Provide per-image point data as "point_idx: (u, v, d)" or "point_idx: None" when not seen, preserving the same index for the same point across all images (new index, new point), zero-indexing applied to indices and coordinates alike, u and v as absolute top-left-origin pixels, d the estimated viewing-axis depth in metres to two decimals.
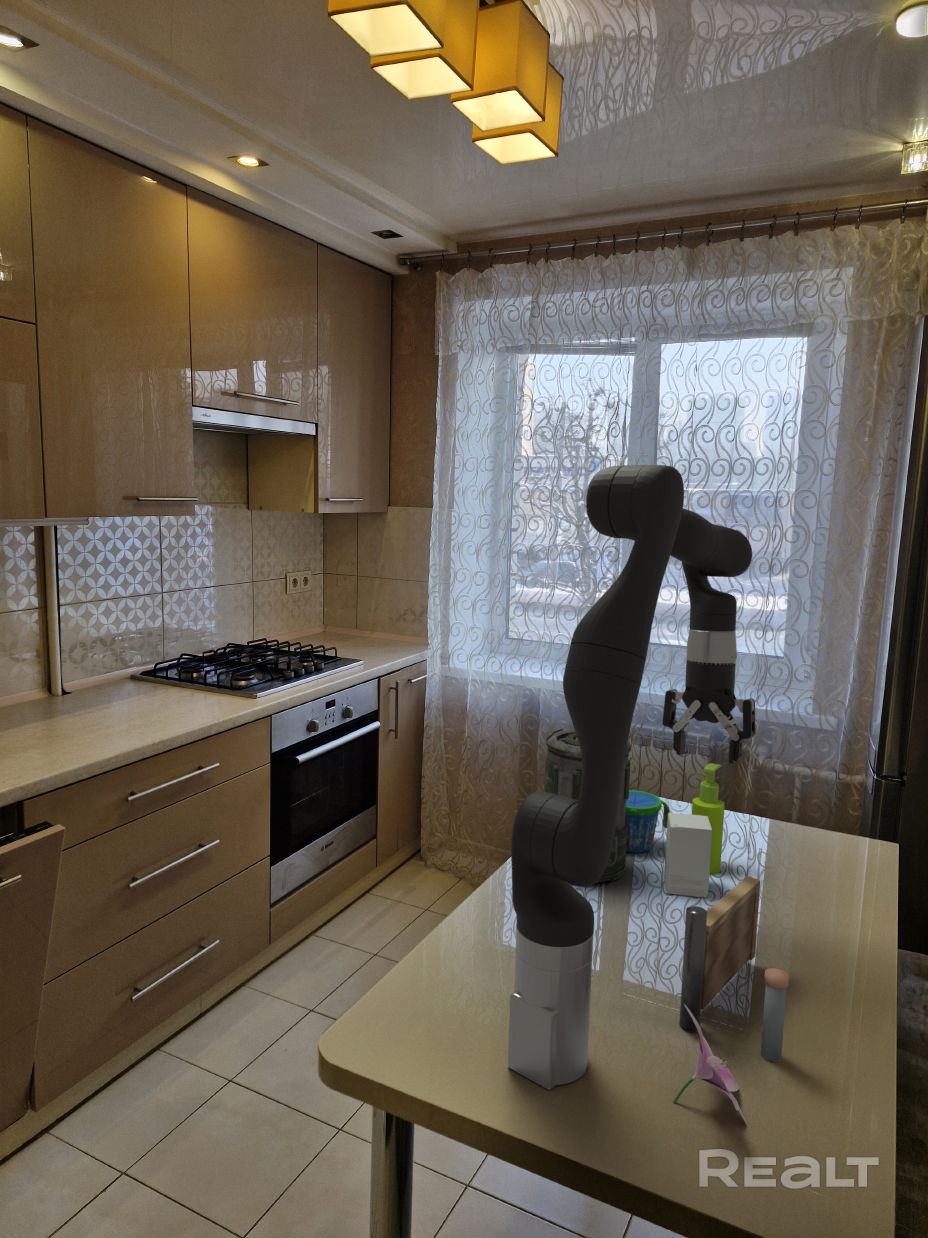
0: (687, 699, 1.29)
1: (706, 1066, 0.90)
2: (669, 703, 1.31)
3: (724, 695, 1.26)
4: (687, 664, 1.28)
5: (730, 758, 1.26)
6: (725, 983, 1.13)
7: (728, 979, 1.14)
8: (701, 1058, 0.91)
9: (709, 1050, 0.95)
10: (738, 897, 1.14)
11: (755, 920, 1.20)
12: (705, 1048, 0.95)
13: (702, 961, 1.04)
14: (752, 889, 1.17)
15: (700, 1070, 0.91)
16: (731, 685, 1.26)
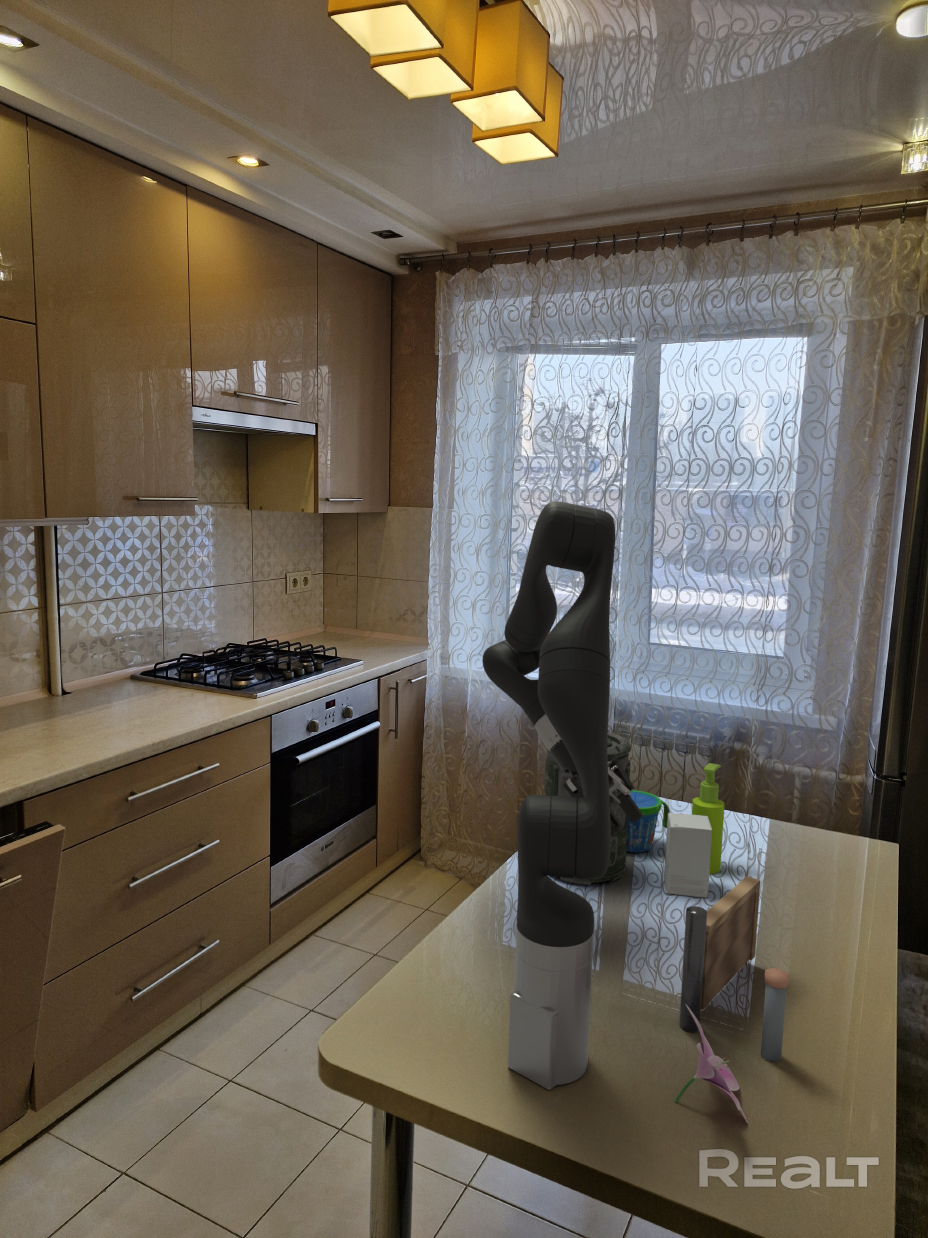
0: None
1: (707, 1066, 0.90)
2: (582, 785, 1.25)
3: None
4: None
5: (638, 811, 1.29)
6: (725, 983, 1.13)
7: (728, 979, 1.14)
8: (702, 1058, 0.91)
9: (710, 1049, 0.96)
10: (738, 897, 1.14)
11: (755, 920, 1.20)
12: (706, 1048, 0.95)
13: (702, 961, 1.04)
14: (752, 889, 1.17)
15: (701, 1070, 0.91)
16: None
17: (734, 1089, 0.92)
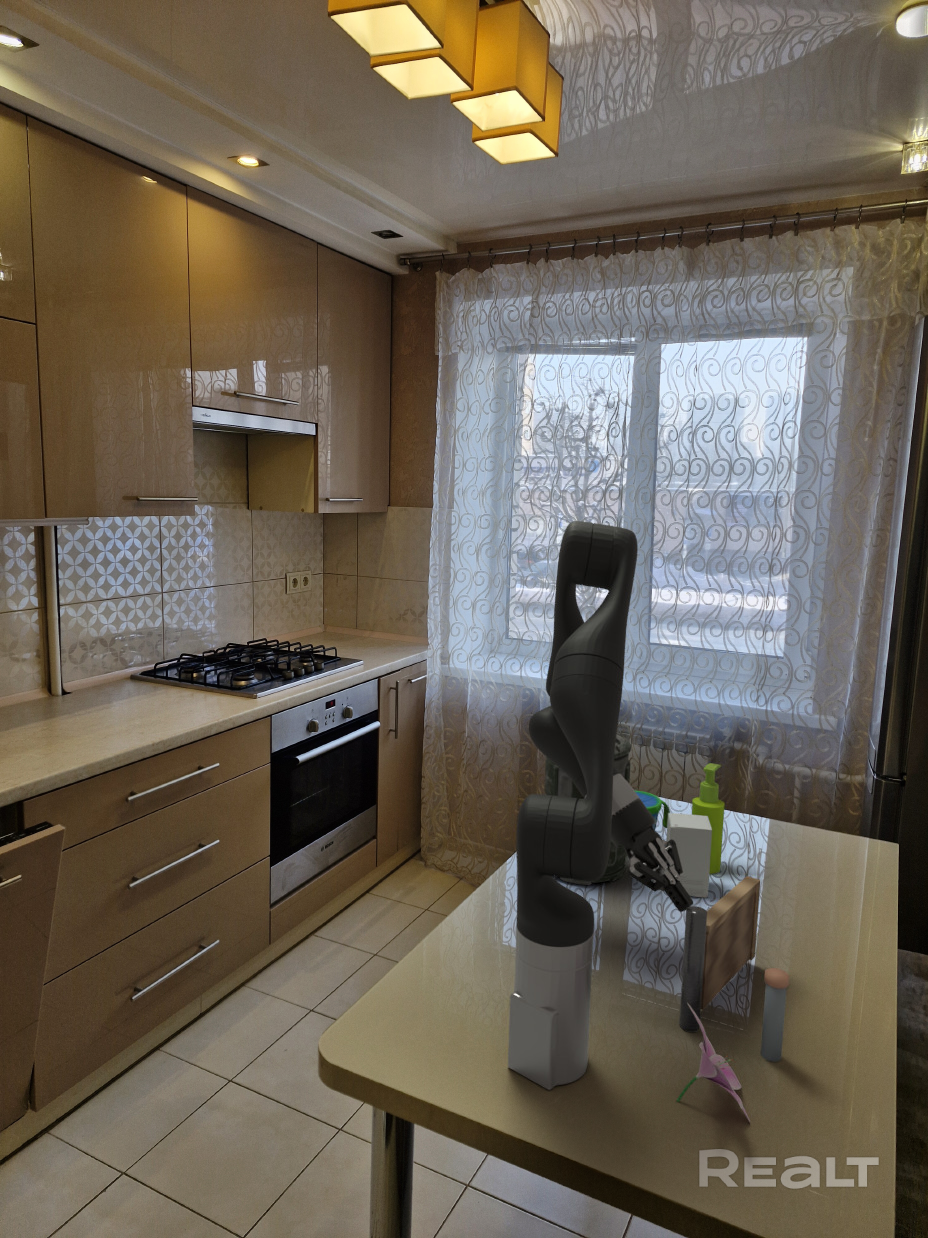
0: (640, 850, 1.22)
1: (710, 1065, 0.90)
2: (647, 868, 1.20)
3: (652, 831, 1.27)
4: (623, 813, 1.24)
5: (689, 898, 1.22)
6: (725, 983, 1.13)
7: (728, 979, 1.14)
8: (705, 1057, 0.91)
9: (712, 1049, 0.96)
10: (738, 897, 1.14)
11: (755, 920, 1.20)
12: (708, 1047, 0.95)
13: (702, 961, 1.04)
14: (752, 889, 1.17)
15: (704, 1069, 0.91)
16: None
17: (736, 1088, 0.92)
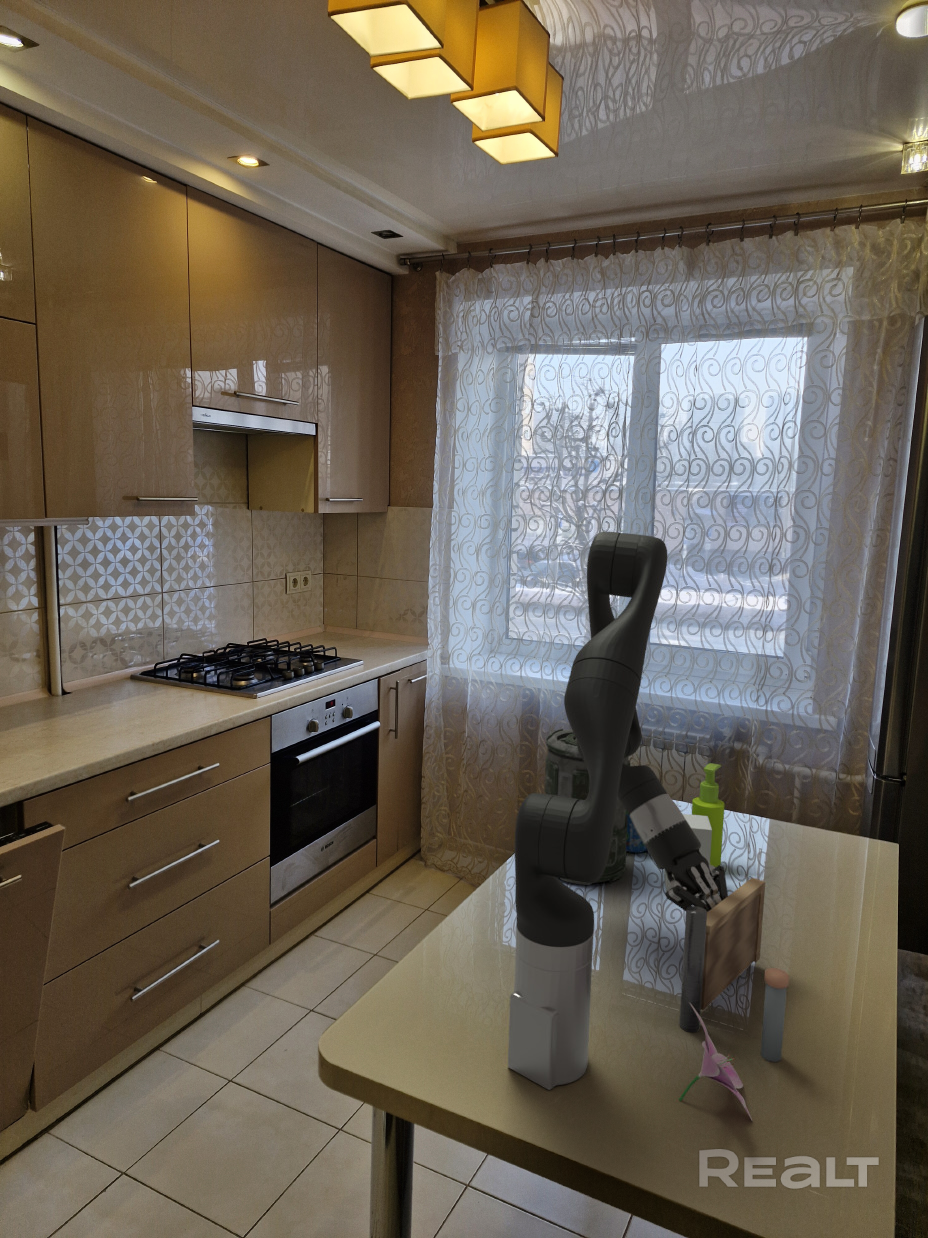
0: (681, 873, 1.19)
1: (712, 1064, 0.90)
2: (687, 893, 1.17)
3: (699, 855, 1.24)
4: (666, 835, 1.21)
5: None
6: (727, 984, 1.13)
7: (731, 980, 1.13)
8: (707, 1056, 0.91)
9: (713, 1047, 0.96)
10: (741, 898, 1.14)
11: (760, 922, 1.19)
12: (710, 1046, 0.95)
13: (702, 961, 1.04)
14: (756, 890, 1.17)
15: (706, 1068, 0.92)
16: None
17: (738, 1087, 0.92)
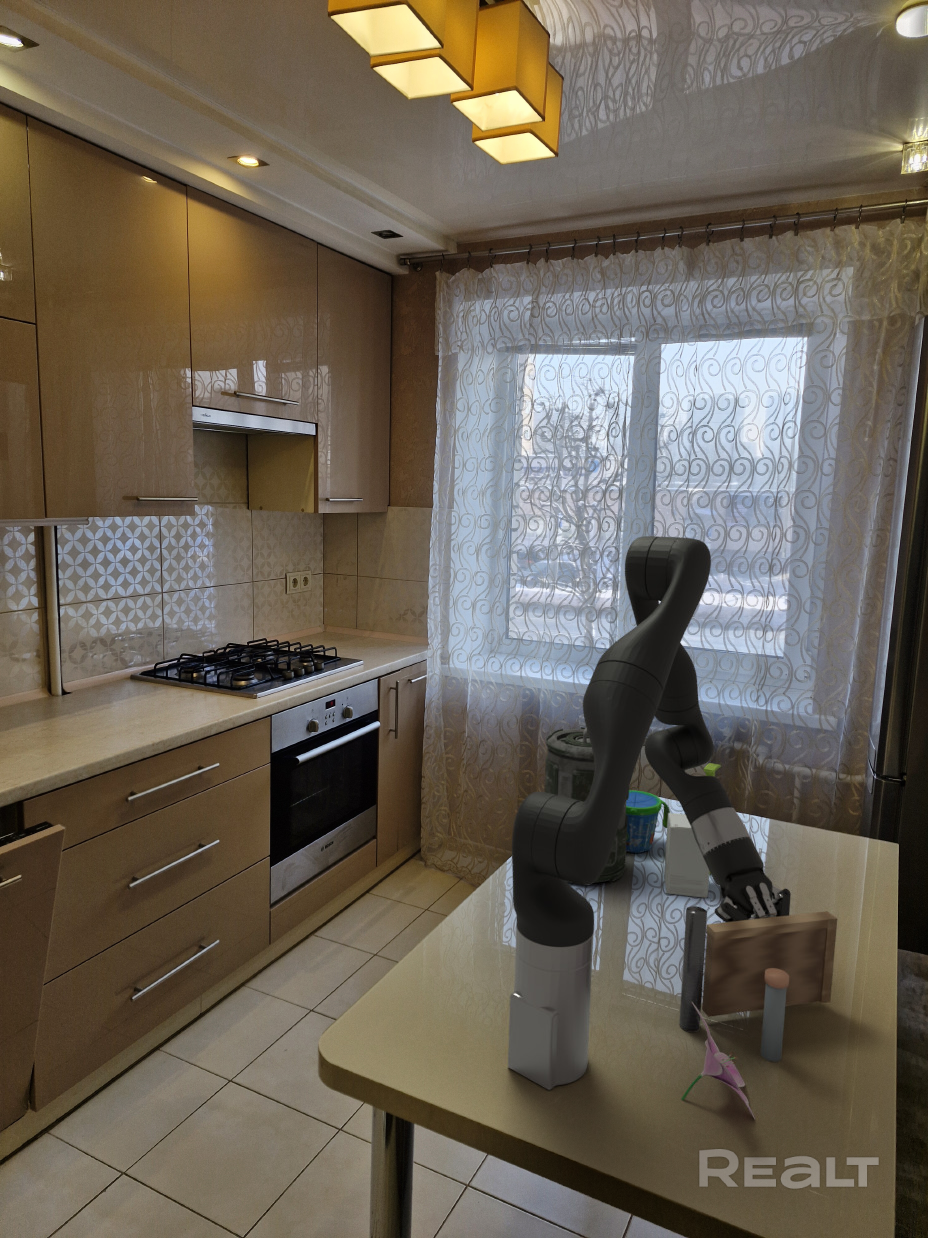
0: (735, 891, 1.14)
1: (715, 1063, 0.90)
2: (736, 912, 1.12)
3: (761, 875, 1.17)
4: (722, 849, 1.16)
5: None
6: (758, 1007, 1.08)
7: None
8: (710, 1055, 0.91)
9: (715, 1046, 0.96)
10: (785, 922, 1.07)
11: (828, 960, 1.09)
12: (712, 1045, 0.96)
13: (702, 961, 1.04)
14: (816, 923, 1.08)
15: (708, 1067, 0.92)
16: None
17: (740, 1085, 0.92)
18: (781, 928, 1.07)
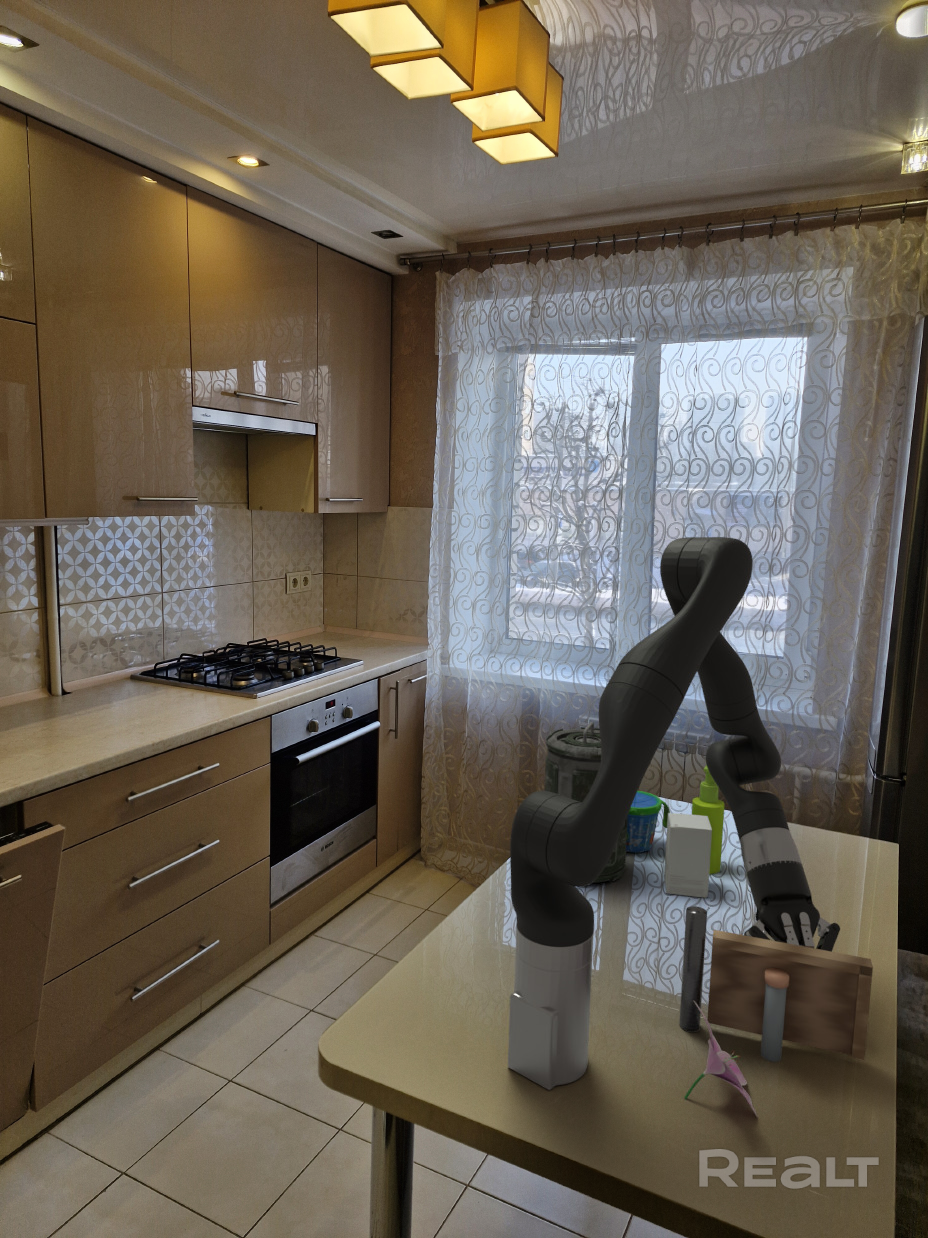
0: (769, 916, 1.07)
1: (718, 1061, 0.91)
2: (765, 938, 1.05)
3: (808, 905, 1.08)
4: (761, 870, 1.10)
5: None
6: None
7: None
8: (712, 1054, 0.92)
9: (717, 1045, 0.96)
10: (802, 952, 1.00)
11: (860, 1012, 0.98)
12: (714, 1044, 0.96)
13: (702, 961, 1.04)
14: (843, 964, 0.98)
15: (711, 1065, 0.92)
16: None
17: (743, 1084, 0.93)
18: (795, 956, 1.00)
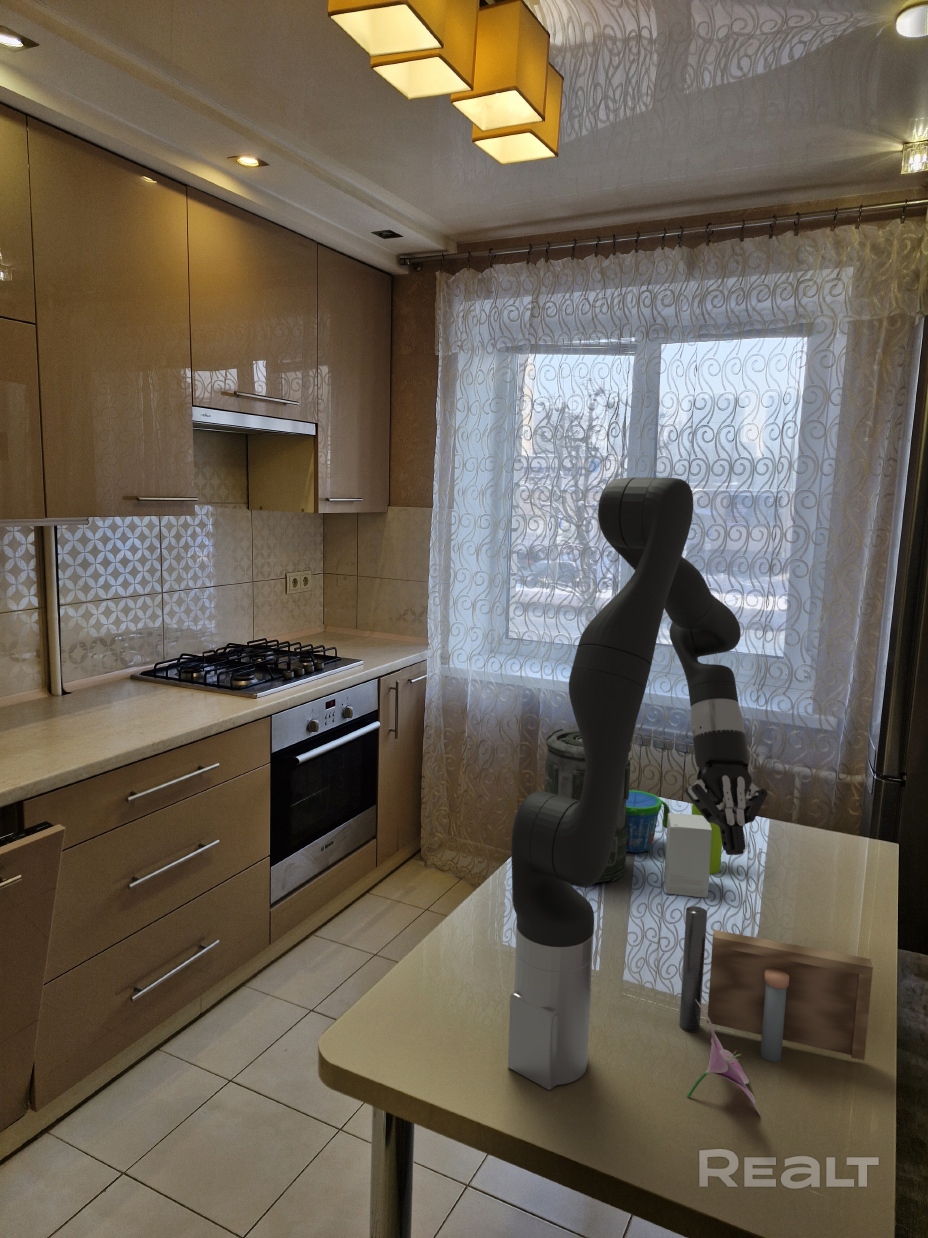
0: (711, 777, 1.16)
1: (720, 1060, 0.91)
2: (705, 795, 1.14)
3: (744, 770, 1.18)
4: (711, 736, 1.17)
5: (740, 846, 1.13)
6: None
7: None
8: (715, 1052, 0.92)
9: (719, 1044, 0.97)
10: (802, 952, 1.00)
11: (860, 1012, 0.98)
12: (716, 1042, 0.96)
13: (702, 961, 1.04)
14: (843, 964, 0.98)
15: (714, 1064, 0.92)
16: None
17: (745, 1082, 0.93)
18: (795, 956, 1.00)
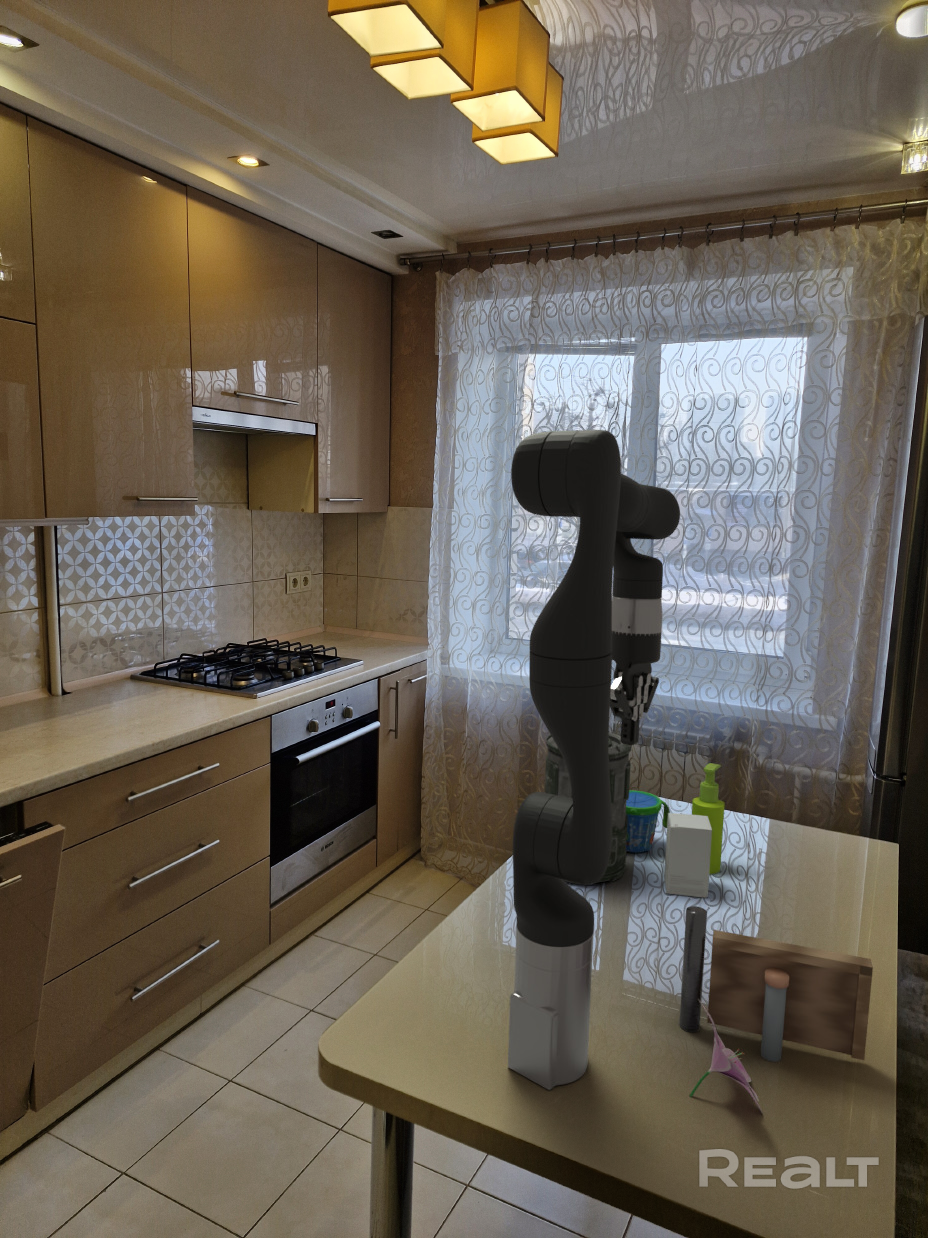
0: (629, 677, 1.16)
1: (723, 1059, 0.91)
2: (624, 698, 1.15)
3: (648, 663, 1.20)
4: (639, 639, 1.14)
5: (637, 738, 1.19)
6: None
7: None
8: (717, 1051, 0.92)
9: (721, 1043, 0.97)
10: (802, 952, 1.00)
11: (860, 1012, 0.98)
12: (718, 1041, 0.96)
13: (702, 961, 1.04)
14: (843, 964, 0.98)
15: (716, 1063, 0.92)
16: None
17: (747, 1080, 0.93)
18: (795, 956, 1.00)
